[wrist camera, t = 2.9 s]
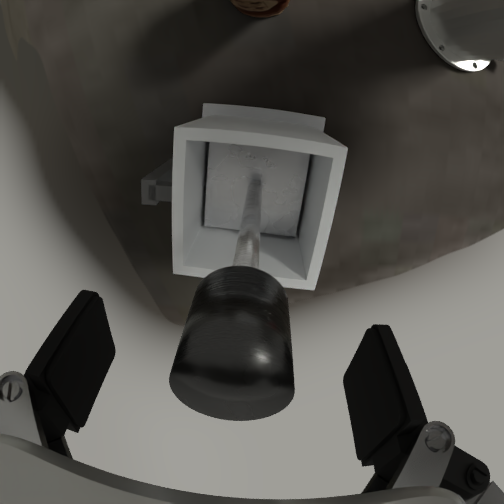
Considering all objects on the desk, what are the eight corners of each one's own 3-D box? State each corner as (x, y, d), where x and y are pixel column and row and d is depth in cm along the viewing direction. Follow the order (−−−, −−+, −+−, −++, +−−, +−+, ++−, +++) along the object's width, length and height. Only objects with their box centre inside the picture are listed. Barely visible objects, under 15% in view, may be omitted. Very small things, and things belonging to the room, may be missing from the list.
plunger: (310, 145, 23) (425, 293, 6) (294, 232, 27) (325, 448, 10) (211, 133, 23) (64, 250, 6) (205, 222, 27) (126, 425, 10)
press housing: (324, 117, 29) (369, 133, 16) (305, 224, 35) (325, 303, 22) (187, 102, 29) (128, 108, 16) (181, 210, 35) (135, 280, 22)
